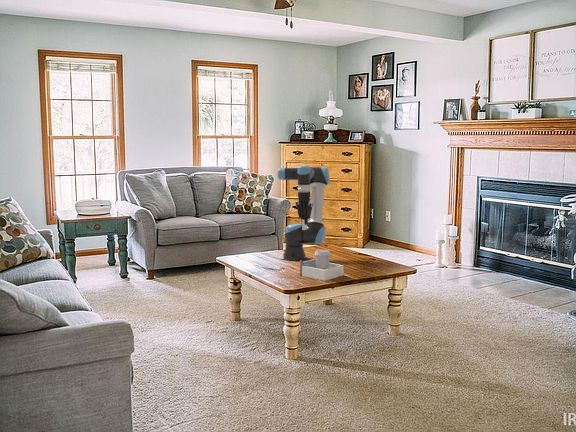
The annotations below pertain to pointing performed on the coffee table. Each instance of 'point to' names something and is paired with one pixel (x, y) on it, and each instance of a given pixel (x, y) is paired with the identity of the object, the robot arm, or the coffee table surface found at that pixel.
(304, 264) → the grey flat plate
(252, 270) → the coffee table surface
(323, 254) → the coffee cup
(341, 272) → the white open box
